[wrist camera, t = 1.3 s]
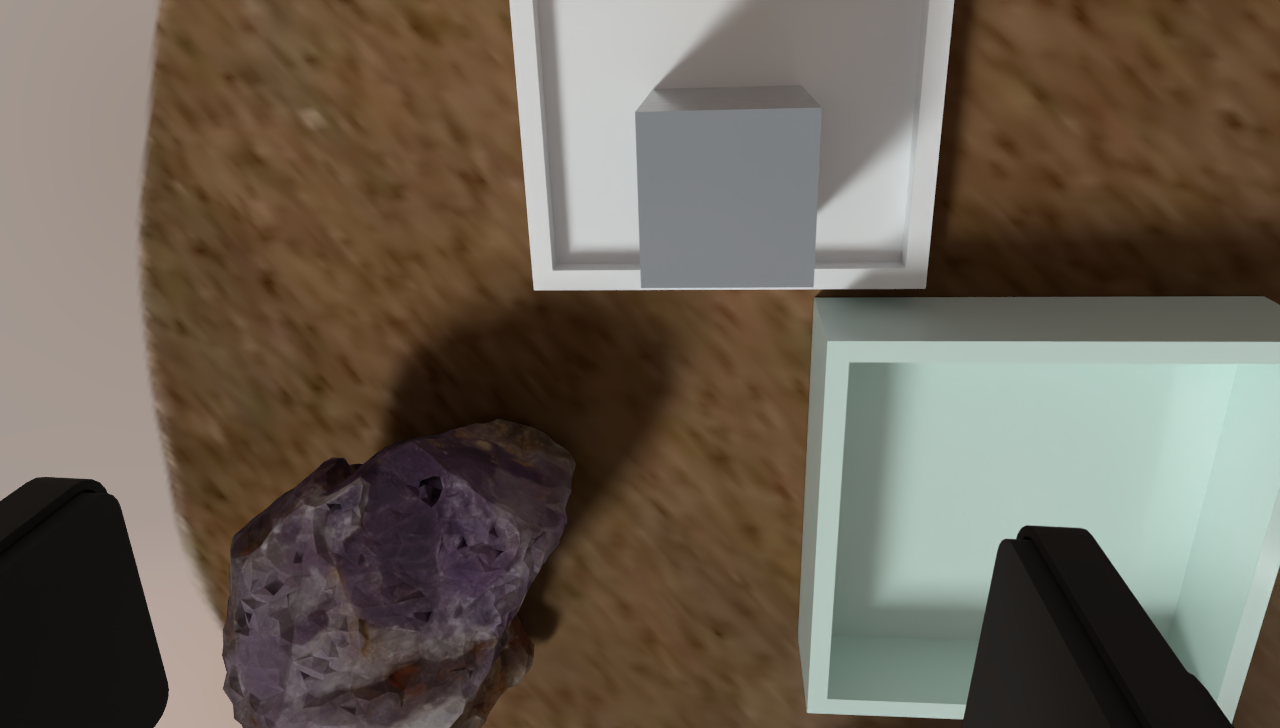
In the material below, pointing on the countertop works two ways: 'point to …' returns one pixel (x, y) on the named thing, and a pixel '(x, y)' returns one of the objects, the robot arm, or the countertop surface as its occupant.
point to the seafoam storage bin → (1032, 478)
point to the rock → (395, 583)
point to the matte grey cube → (728, 187)
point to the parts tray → (731, 57)
